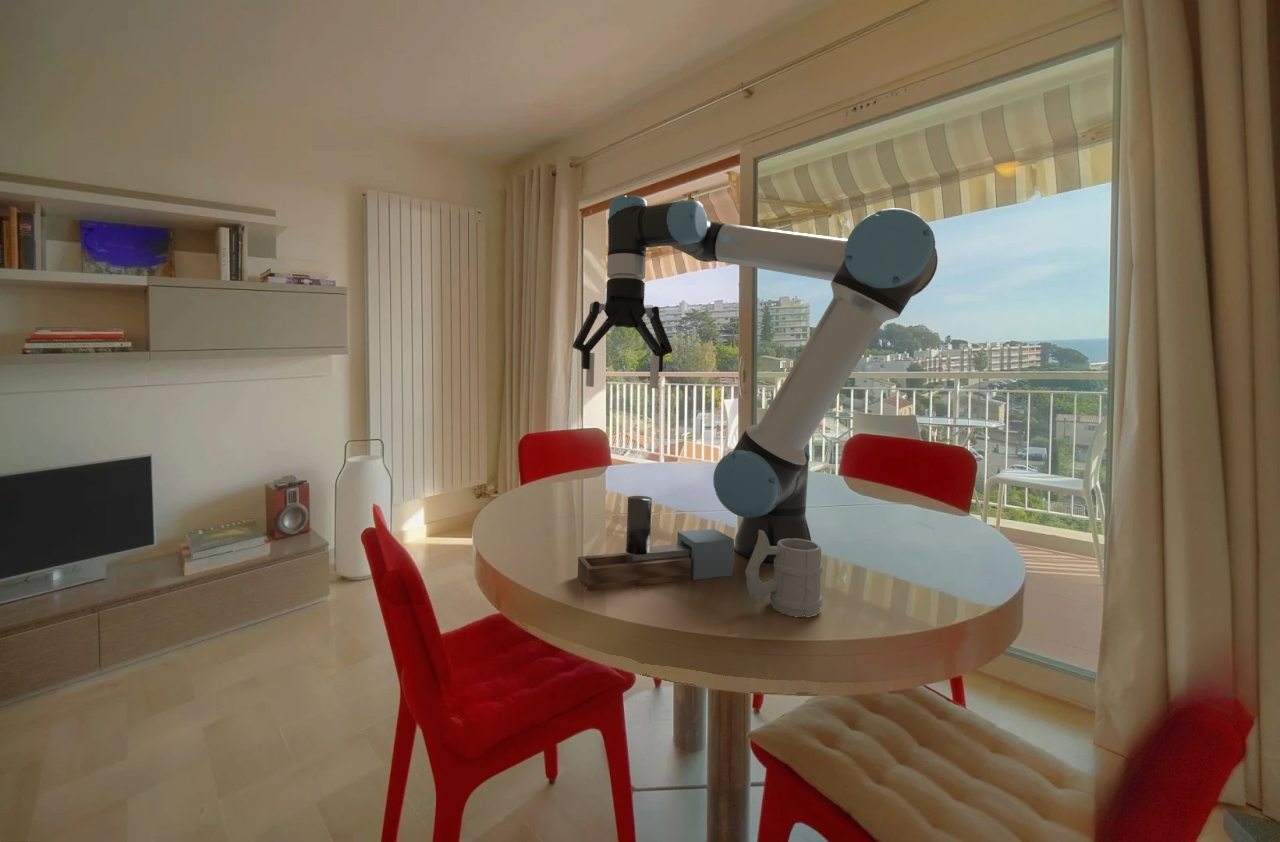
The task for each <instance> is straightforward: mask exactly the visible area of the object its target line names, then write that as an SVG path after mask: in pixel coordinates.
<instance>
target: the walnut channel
mask: <svg viewBox="0 0 1280 842" xmlns="http://www.w3.org/2000/svg"><path fill="white" fill-rule="evenodd" d="M625 554H626V552H618V553H616V552H615V553H606V554H604V553H603V554H596V555H586V556H585V555H583V556H577V578H578V579H580V580H579V581H580V582H581V584H582V583H583V584H582V585H583V587H584V588H585V587H586V588H587V589H586V588H585V589H586V591H587V592H591V591H592V592H593V591H594V592H595V591H601V590H609V589H617V588H618V589H619V588H626V587H627V588H628V587H636V586H637V587H638V586H646V585H652V584H653V585H654V584H663V583H670V582H679V581H688V580H689V581H690V580H691V579H692V578H691V559H690V558H689V557H684V558H674V559H664V560H654V561H643V562H633V563H625Z"/></svg>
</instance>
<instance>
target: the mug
mask: <svg viewBox="0 0 1280 842" xmlns="http://www.w3.org/2000/svg"><path fill="white" fill-rule="evenodd" d="M767 555H776V558H775V559H774V563H773V568H774V572H773V573H774V574H773V579H770V580H768V581H765V582H762V581H761V579H760V567H761V565H762V563H763V562H765V561H764V559H765V558H766V556H767ZM822 573H823V564H822V547H821V546H820V545H819V544H818V543H816V542H815V541H813V540H811V541H809V540H803V539H796V538H794V539H791V538H789V539H782V540H779V541H778V542H777V546H770V544H769V541H768V538H767V536H766V534H765V532H764V531H762V530H759V531H758V540H757V544H756V545H755V548H754V551H753V554H752V556H751V558H749V561H748V564H747V567H746V568H745V577H746V581H745V583H746V587H747V588H746V589H747V591H748V594H749V595H750V596H751V598H752V601H753V602H754V603H758V602H760V601H761V600H762V598H763V597H764V596H767V595H768V594H769V598H770V601H771V607H772V609H773V610H774V611H776V612H777V611H778V612H777V613H779V612H780V614H781V613H782V614H781V615H786V614H787V615H790V616H789V617H791V616H797V617H804V615H805V616H812V615H815V614H817V613H818V612H819V611H821V607H822V606H823V601H824V598H823V596H822V594H821V585H822V584H821V580H822V579H821V576H822ZM819 613H820V612H819ZM787 615H786V616H787ZM797 617H796V618H797ZM804 618H805V617H804Z"/></svg>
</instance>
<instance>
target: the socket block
mask: <svg viewBox="0 0 1280 842" xmlns="http://www.w3.org/2000/svg"><path fill="white" fill-rule="evenodd" d="M685 543H686V544H687V545H689V546H690V547H692V554H691V579H692V580H695V581H697V580H703V579H704V580H705V579H712V578H713V579H714V578H720V577H731V576H733V570H734V568H733V567H734V552H735V551H734V550H735V538H732V537H731V536H728V535H727V534H725V533H724V532H721V531H720V530H718V529H716V528H708V529H696V530H695V529H694V530H693V529H692V530H682V531H677V543H676V544H685Z"/></svg>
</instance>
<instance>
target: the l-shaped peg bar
mask: <svg viewBox="0 0 1280 842" xmlns="http://www.w3.org/2000/svg"><path fill="white" fill-rule="evenodd" d="M652 506H653V505H652V497H650V496H645V495H631V496H628V497H627V508H626V509H627V510H626V512H627V515H626V517H627V518H626V541H625V543H626V544H625V545H626V546H625V553H626V554H625V563H633V562H643V561H654V560H664V559H674V558H684V557H689V558H690V559H691V554H692V547H690V546H689V545H687V544H686V543H685V544H677V543H675V544H663V545H655V546H654V545H653V546H652V545H651V534H652V533H651V530H652V528H651V527H652Z"/></svg>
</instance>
